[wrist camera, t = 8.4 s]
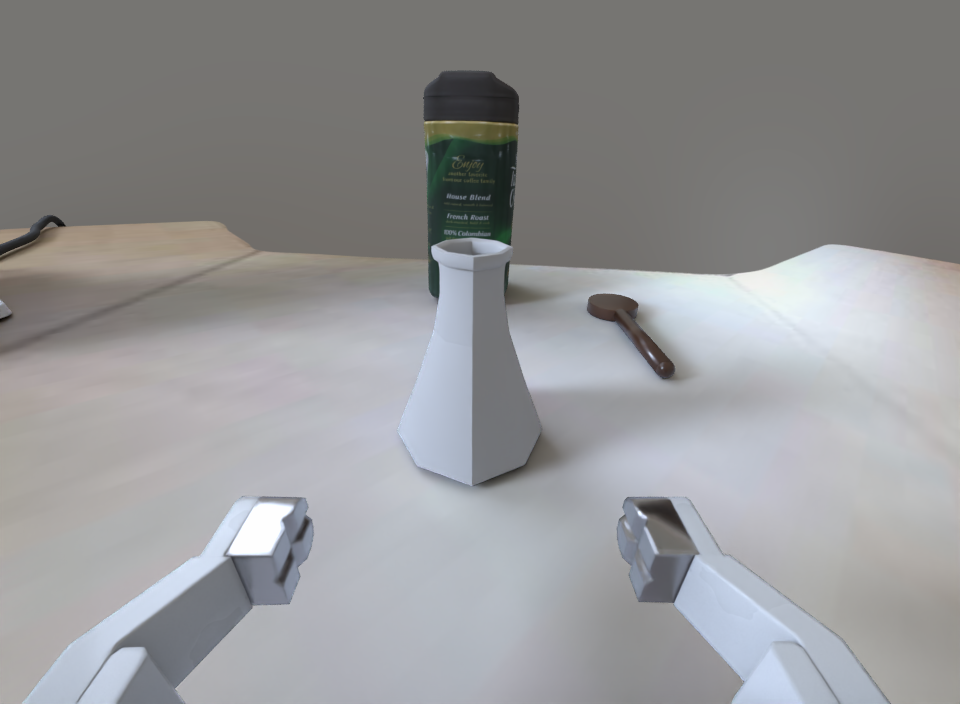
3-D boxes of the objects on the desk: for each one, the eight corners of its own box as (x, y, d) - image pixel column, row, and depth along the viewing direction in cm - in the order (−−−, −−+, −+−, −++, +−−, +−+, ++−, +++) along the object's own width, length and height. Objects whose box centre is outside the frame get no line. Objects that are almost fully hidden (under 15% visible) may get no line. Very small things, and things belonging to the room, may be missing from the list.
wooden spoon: (699, 381, 26) (704, 366, 26) (634, 381, 26) (637, 365, 26) (626, 303, 39) (629, 291, 38) (581, 302, 39) (583, 291, 38)
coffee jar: (506, 310, 37) (520, 63, 28) (421, 305, 37) (409, 62, 28) (511, 278, 45) (523, 80, 36) (442, 274, 46) (437, 79, 37)
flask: (472, 514, 17) (476, 286, 12) (373, 435, 21) (347, 244, 16) (565, 433, 21) (594, 247, 17) (468, 382, 26) (470, 222, 21)
